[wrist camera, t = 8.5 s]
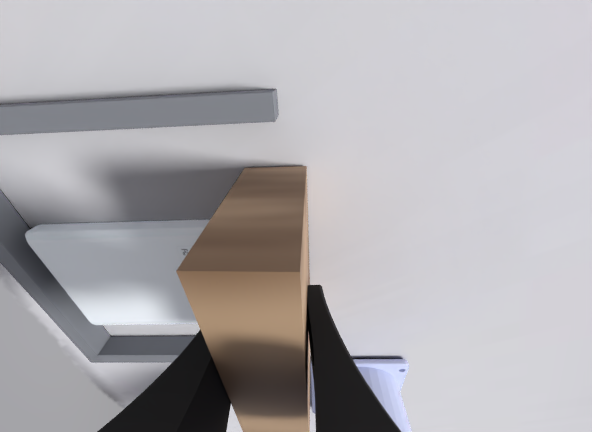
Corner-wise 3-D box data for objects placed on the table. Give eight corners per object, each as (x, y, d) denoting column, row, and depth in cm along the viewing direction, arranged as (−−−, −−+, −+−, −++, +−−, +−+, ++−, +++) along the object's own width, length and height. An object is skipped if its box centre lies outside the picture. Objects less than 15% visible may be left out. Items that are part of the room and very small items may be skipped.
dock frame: (297, 342, 19) (296, 362, 18) (104, 343, 20) (91, 362, 19) (276, 89, 10) (272, 92, 9) (-83, 109, 11) (-134, 114, 10)
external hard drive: (47, 218, 14) (254, 212, 14) (109, 308, 19) (269, 307, 18) (20, 234, 13) (248, 229, 12) (93, 328, 17) (266, 327, 17)
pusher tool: (310, 314, 17) (309, 443, 11) (269, 313, 18) (246, 439, 12) (306, 166, 12) (299, 271, 6) (244, 167, 12) (176, 270, 6)
